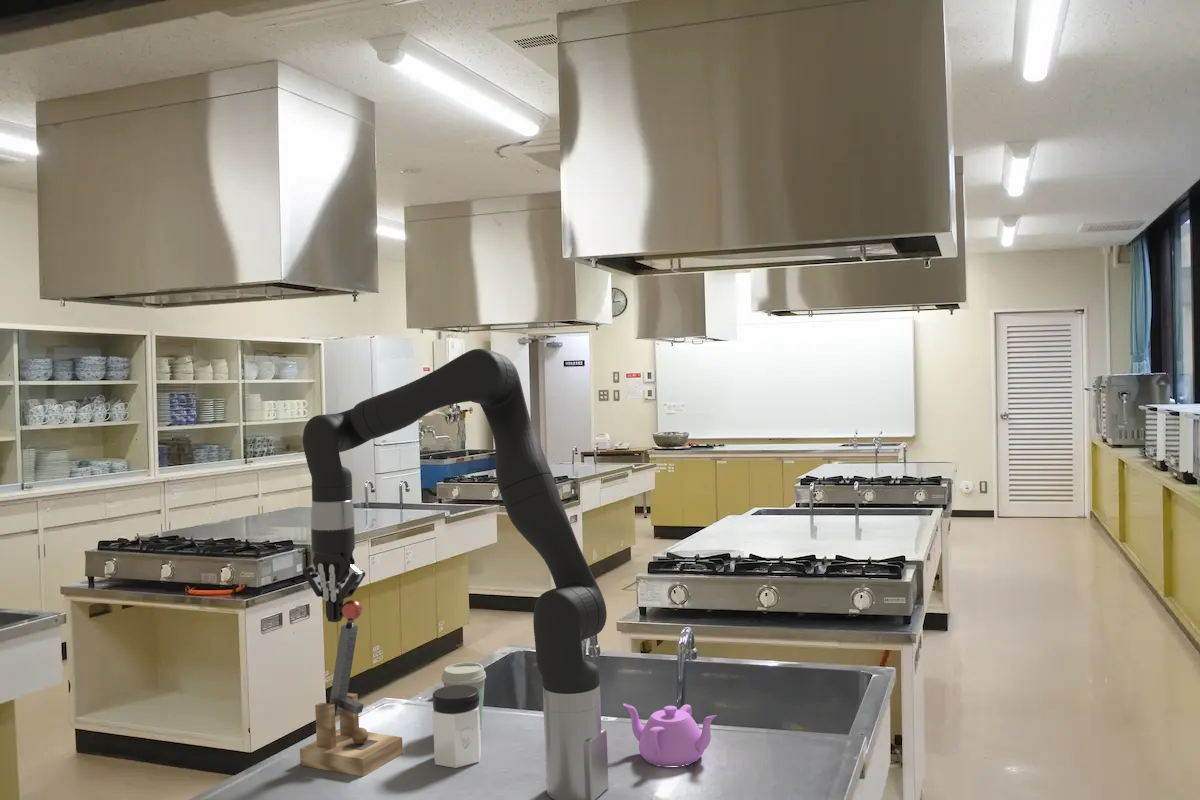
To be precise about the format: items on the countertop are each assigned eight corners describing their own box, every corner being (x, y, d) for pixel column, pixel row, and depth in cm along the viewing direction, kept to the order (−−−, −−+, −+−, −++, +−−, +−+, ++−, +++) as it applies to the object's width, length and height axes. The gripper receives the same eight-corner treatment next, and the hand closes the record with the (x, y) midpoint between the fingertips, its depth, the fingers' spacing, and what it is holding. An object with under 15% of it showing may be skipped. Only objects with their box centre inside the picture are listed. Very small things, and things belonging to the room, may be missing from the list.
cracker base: (402, 753, 178) (400, 696, 178) (363, 776, 168) (360, 715, 168) (342, 743, 184) (339, 688, 184) (300, 765, 174) (298, 706, 174)
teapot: (719, 765, 167) (717, 714, 167) (639, 775, 164) (637, 722, 164) (698, 741, 179) (696, 692, 179) (624, 749, 176) (622, 700, 176)
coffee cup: (497, 726, 191) (494, 664, 190) (469, 740, 183) (466, 676, 183) (463, 719, 195) (460, 659, 195) (434, 733, 188) (431, 671, 188)
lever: (365, 718, 177) (383, 606, 175) (350, 726, 173) (367, 611, 171) (336, 705, 180) (353, 595, 177) (320, 713, 176) (337, 600, 174)
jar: (444, 772, 169) (441, 702, 168) (425, 758, 175) (422, 691, 175) (491, 759, 174) (488, 692, 173) (471, 746, 180) (468, 681, 180)
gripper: (375, 524, 177) (377, 619, 177) (318, 520, 183) (320, 613, 183) (348, 530, 170) (349, 629, 170) (289, 526, 176) (291, 622, 176)
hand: (334, 621), depth 177 cm, fingers closed
